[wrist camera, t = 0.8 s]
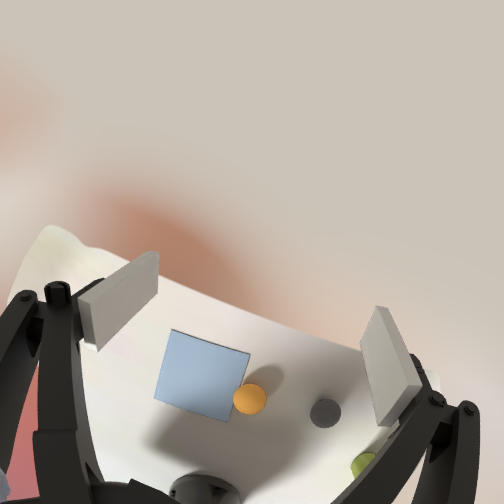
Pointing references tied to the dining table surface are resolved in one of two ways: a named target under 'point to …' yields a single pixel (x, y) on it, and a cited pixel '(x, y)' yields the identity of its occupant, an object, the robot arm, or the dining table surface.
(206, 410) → the mark
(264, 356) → the dining table surface
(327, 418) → the ball
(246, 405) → the ball
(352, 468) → the plant pot
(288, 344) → the dining table surface
